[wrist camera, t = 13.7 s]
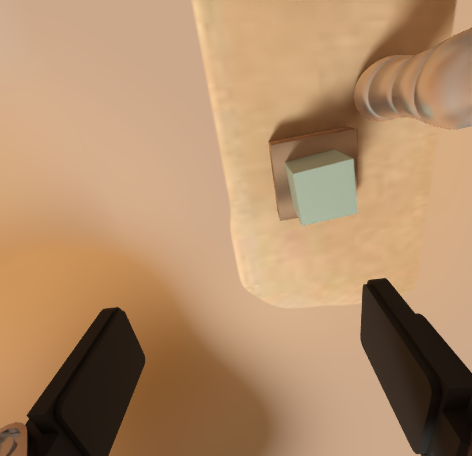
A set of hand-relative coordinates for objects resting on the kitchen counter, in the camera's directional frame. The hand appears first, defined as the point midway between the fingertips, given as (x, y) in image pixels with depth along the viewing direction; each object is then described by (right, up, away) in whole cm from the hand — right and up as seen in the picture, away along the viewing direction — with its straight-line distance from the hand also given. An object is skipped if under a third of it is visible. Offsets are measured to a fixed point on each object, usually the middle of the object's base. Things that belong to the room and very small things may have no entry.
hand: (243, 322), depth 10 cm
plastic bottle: (+17, +20, +21) cm, 34 cm away
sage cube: (+9, +10, +22) cm, 26 cm away
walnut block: (+10, +12, +26) cm, 30 cm away
